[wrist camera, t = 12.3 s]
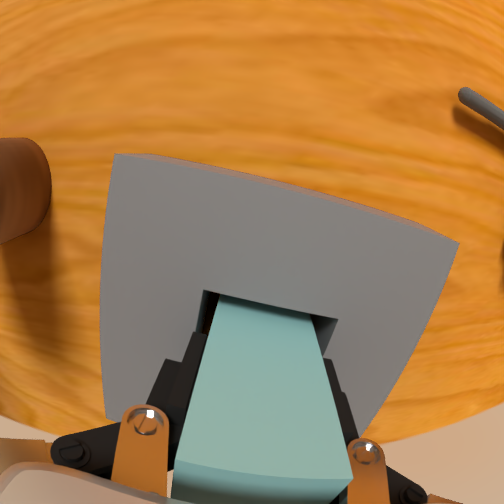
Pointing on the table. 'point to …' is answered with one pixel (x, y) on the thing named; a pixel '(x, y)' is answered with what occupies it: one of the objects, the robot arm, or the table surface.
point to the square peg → (261, 414)
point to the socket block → (258, 273)
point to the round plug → (22, 187)
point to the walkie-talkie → (482, 106)
